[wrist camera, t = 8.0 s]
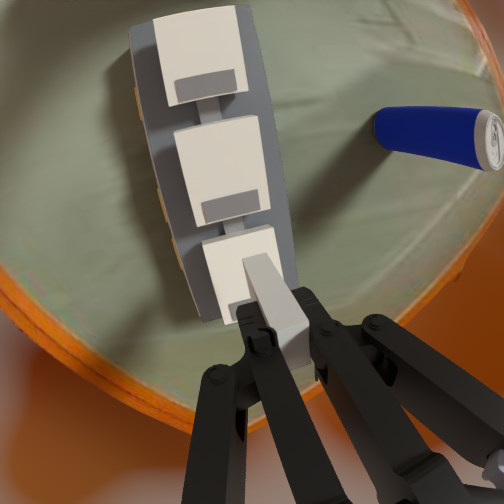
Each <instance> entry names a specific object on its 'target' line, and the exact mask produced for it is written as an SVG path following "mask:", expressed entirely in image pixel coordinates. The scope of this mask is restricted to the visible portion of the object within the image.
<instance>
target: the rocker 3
mask: <svg viewBox="0 0 504 504" xmlns="http://www.w3.org/2000/svg"><path fill="white" fill-rule="evenodd" d="M202 246H203V250H204V254H205V258H206V261H207V265H208V268H209V272H210V276H211V279H212V283H213V286H214V290H215V293H216V296H217V300H218V303H219V307H220V310H221V313H222V317H223V320H224V323H225V325H227V324H231V323H234V322H238V320H237V317H236V310H237V307H238V306H239V305H243V304H246V303H250V302H252V300H251V297H250V294H249V289H248V285H247V280H246V276H245V271H244V267H243V262H242V258H246V257H250V256H254V255H258V254H262V253H265V252H266V253H267V254H268V256H269V257H270V259H271V261H272V262H273V264H274V265H275V267H276V269H277V270H278V272H279V273H280V275H281V277H282V278H283V273H282V268H281V263H280V258H279V253H278V247H277V242H276V237H275V232H274V227H272V226H270V225H269V224H266V225H262V226H258V227H254V228H250V229H246V230H242V231H238V232H234V233H230V234H226V235H222V236H219V237H215V238H211V239H207V240H203V241H202ZM283 280H284V279H283Z"/></svg>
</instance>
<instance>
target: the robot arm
mask: <svg viewBox="0 0 504 504" xmlns="http://www.w3.org/2000/svg"><path fill="white" fill-rule="evenodd" d="M242 262H243V267H244V271H245V276H246V280H247V285H248V289H249V294H250V297H251V300H252V302H250V303H246V304H243V305H239V306H238V307H237V310H236V317H237V320H238V324H239V327H240V331H241V334H242V338H243V341H244V345H245V354H244V356H243V357H242V358H241V360H240V361H238V362H237V363H235V364H233V365H232V366H228V365H224V364H218V365H214V366H212V367H210V368H208V369H207V370H206V371H205V372H204V374H203V376H202V380H201V385H200V391H199V396H198V402H197V408H196V413H195V419H194V425H193V431H192V437H191V443H190V450H189V456H188V462H187V468H186V474H185V481H184V488H183V495H182V502H181V504H245V503H244V502H245V478H246V477H245V476H246V449H247V424H248V408H249V407H251V406H252V405H254V404H256V403H257V402H259V401H261V402H262V405H263V408H264V411H265V414H266V417H267V420H268V423H269V426H270V430H271V433H272V436H273V439H274V442H275V445H276V448H277V450H278V454H279V456H280V459H281V462H282V465H283V468H284V471H285V474H286V477H287V480H288V482H289V485H290V488H291V491H292V494H293V496H294V499H295V502H296V504H353V503H352V502H351V501H350V500H349V499H348V498H347V496H346V494H345V492H344V490H343V488H342V486H341V483H340V481H339V479H338V477H337V475H336V473H335V470H334V468H333V466H332V464H331V462H330V459H329V457H328V455H327V453H326V451H325V448H324V446H323V444H322V442H321V440H320V437H319V435H318V433H317V431H316V429H315V426H314V424H313V422H312V420H311V417H310V415H309V413H308V411H307V409H306V406H305V404H304V402H303V399H302V397H301V395H300V393H299V390H298V388H297V386H296V384H295V381H294V379H293V377H292V375H291V372H290V370H293V369H296V368H299V367H302V366H305V365H308V364H311V358H312V360H313V361H314V363H315V381H318V378H319V380H320V382H321V384H322V386H323V387H324V389H325V391H326V393H327V395H328V397H329V399H330V401H331V403H332V405H333V406H334V408H335V410H336V413H337V415H338V416H339V418H340V420H341V422H342V424H343V426H344V428H345V430H346V432H347V434H348V436H349V438H350V440H351V441H352V444H353V446H354V447H355V449H356V451H357V453H358V455H359V457H360V459H361V461H362V463H363V465H364V467H365V469H366V471H367V473H368V475H369V477H370V479H371V480H372V482H373V484H374V486H375V489H376V491H377V499H378V502H379V504H504V398H502V397H501V396H500V395H498V394H497V393H495V392H494V391H493V390H491V389H490V388H489V387H487V386H486V385H484V384H483V383H482V382H480V381H479V380H477V379H476V378H475V377H473V376H472V375H470V374H469V373H468V372H466V371H465V370H463V369H462V368H460V367H459V366H458V365H456V364H455V363H453V362H452V361H451V360H449V359H448V358H446V357H445V356H443V355H442V354H440V353H439V352H438V351H436V350H435V349H433V348H432V347H430V346H429V345H428V344H426V343H425V342H423V341H421V340H420V339H419V338H417V337H416V336H414V335H413V334H411V333H410V332H408V331H407V330H406V329H404V328H403V327H401V326H400V325H398V324H397V323H395V322H394V321H392V320H391V319H389V318H388V317H386V316H384V315H382V314H371V315H369V316H366V317H365V318H364V319H363V322H362V324H360V325H352V326H345V325H343V324H341V323H340V322H339V321H336V320H333V319H332V318H331V317H330V315H329V314H328V313H327V311H326V310H325V309H324V307H323V306H322V304H321V303H320V302H319V300H318V299H317V298H316V296H315V295H314V293H313V292H312V291H311V290H309V289H308V288H306V287H300V288H297V289H294V290H289V288H288V286H287V285H286V283H285V281H284V280H283V278H282V277H281V275H280V273H279V272H278V270H277V269H276V267H275V265H274V264H273V262H272V261H271V259H270V257H269V256H268V254H267V253H266V252H265V253H262V254H258V255H254V256H250V257H246V258H242ZM400 405H401V406H402V407H404V408H405V409H406V410H407V411H408V412H409V413H411V414H412V415H413V416H414V417H415V418H416V419H418V420H419V421H420V422H421V423H422V424H423V425H425V426H426V427H427V428H428V429H429V430H431V431H432V432H433V433H434V434H436V436H438V437H439V438H440V439H441V440H443V441H444V442H445V443H446V444H447V445H449V446H450V447H451V448H452V449H453V450H454V451H456V452H457V453H458V454H459V455H460V456H462V457H463V458H464V459H466V460H467V461H469V462H470V463H472V464H474V465H476V466H479V467H482V468H485V469H484V471H483V472H482V478H483V479H484V480H489V481H491V482H492V483H494V485H495V486H496V489H493V488H486V487H478V486H473V485H467V484H463V483H462V482H461V480H460V479H459V477H458V476H457V474H456V472H455V471H454V469H453V468H452V466H451V465H450V463H449V461H448V460H447V459H446V458H445V457H444V456H443V455H442V454H440V453H436V452H432V451H431V450H430V449H429V447H428V446H427V444H426V443H425V441H424V440H423V438H422V437H421V435H420V434H419V432H418V431H417V429H416V428H415V426H414V425H413V423H412V422H411V420H410V419H409V417H408V416H407V414H406V413H405V411H404V410H403V408H402V407H401V406H400Z"/></svg>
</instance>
